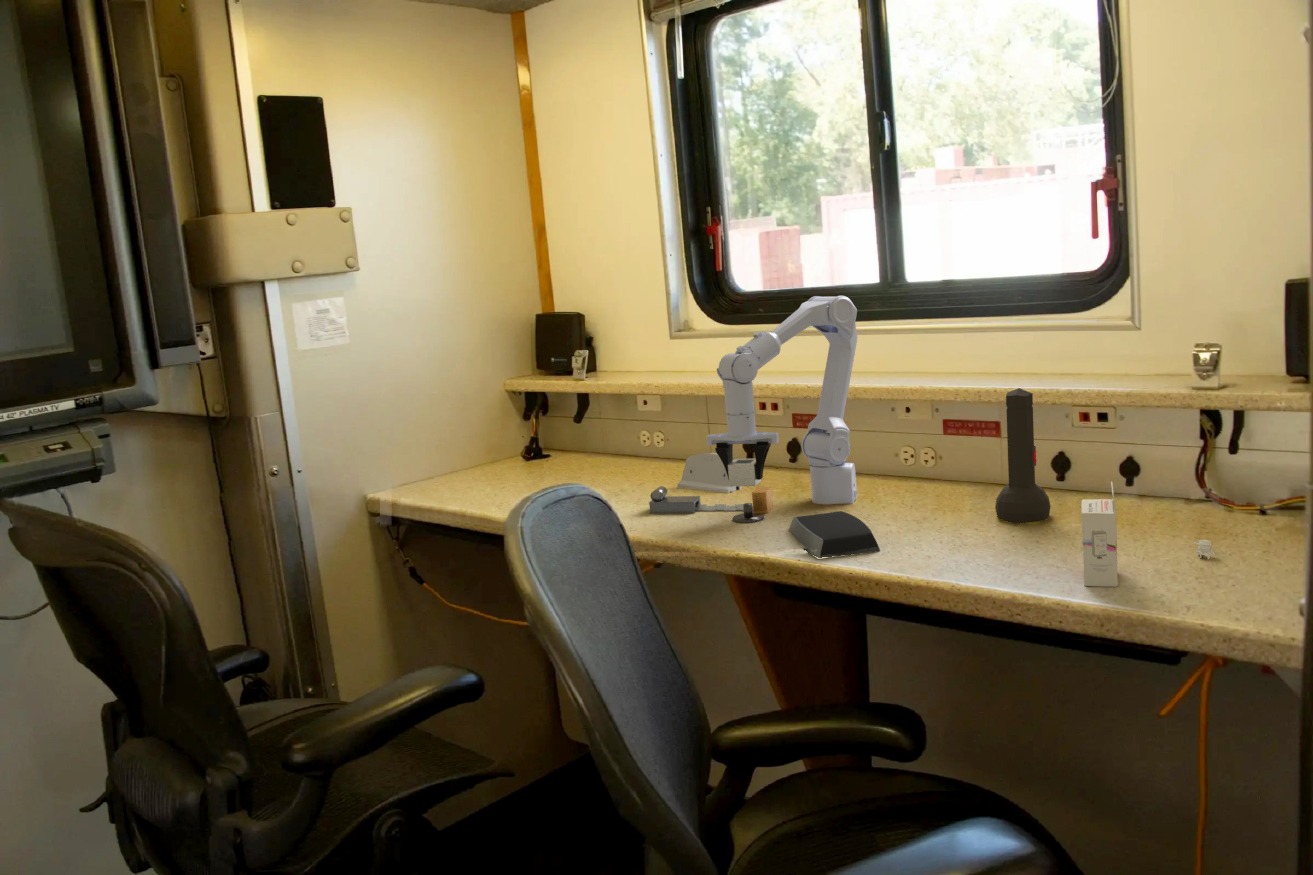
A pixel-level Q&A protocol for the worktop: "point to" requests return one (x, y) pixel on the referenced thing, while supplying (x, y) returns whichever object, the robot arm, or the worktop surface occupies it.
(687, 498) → the chain housing
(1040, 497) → the flashlight
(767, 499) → the chain slider
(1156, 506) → the worktop surface
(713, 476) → the light grey piece
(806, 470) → the worktop surface
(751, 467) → the grey recessed block
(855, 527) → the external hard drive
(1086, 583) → the ink cartridge box
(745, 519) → the post
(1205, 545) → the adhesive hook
